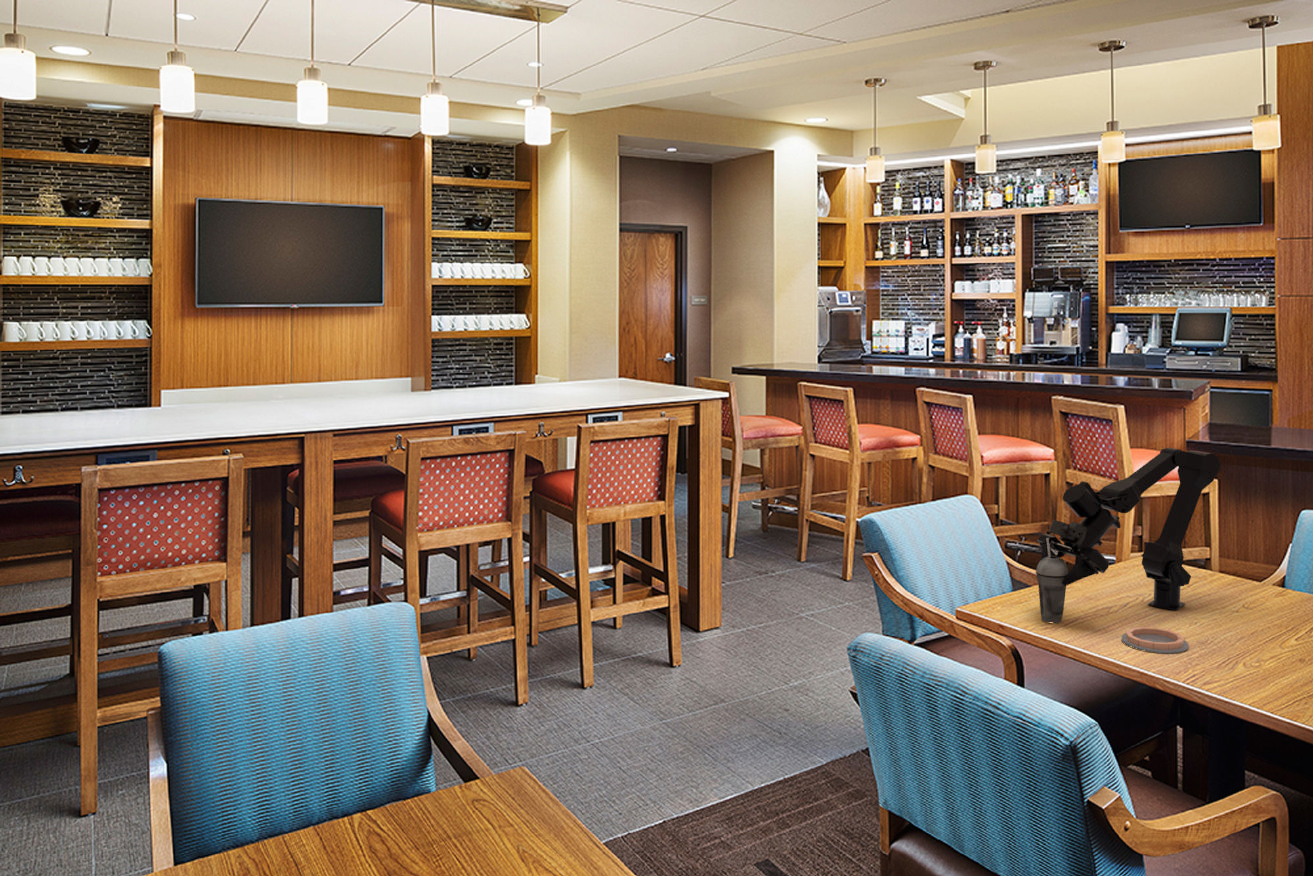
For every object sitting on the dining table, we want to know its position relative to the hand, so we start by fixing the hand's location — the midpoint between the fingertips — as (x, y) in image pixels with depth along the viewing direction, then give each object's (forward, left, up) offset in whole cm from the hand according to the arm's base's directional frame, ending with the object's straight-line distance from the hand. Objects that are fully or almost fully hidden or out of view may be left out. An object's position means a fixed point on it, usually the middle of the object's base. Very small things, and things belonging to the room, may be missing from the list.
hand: (1050, 579), depth 223 cm
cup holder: (0, +23, -10) cm, 25 cm away
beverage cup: (-1, 0, -10) cm, 10 cm away
